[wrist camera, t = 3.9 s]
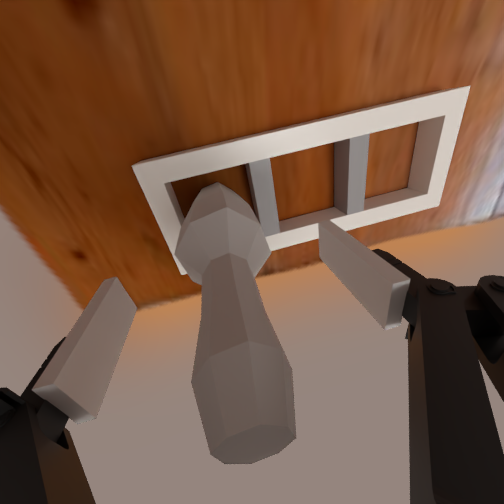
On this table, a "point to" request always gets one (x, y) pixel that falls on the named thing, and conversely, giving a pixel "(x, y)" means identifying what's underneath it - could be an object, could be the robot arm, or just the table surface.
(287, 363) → the low poly bottle
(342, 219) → the white rectangular compartment rack
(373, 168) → the table surface
